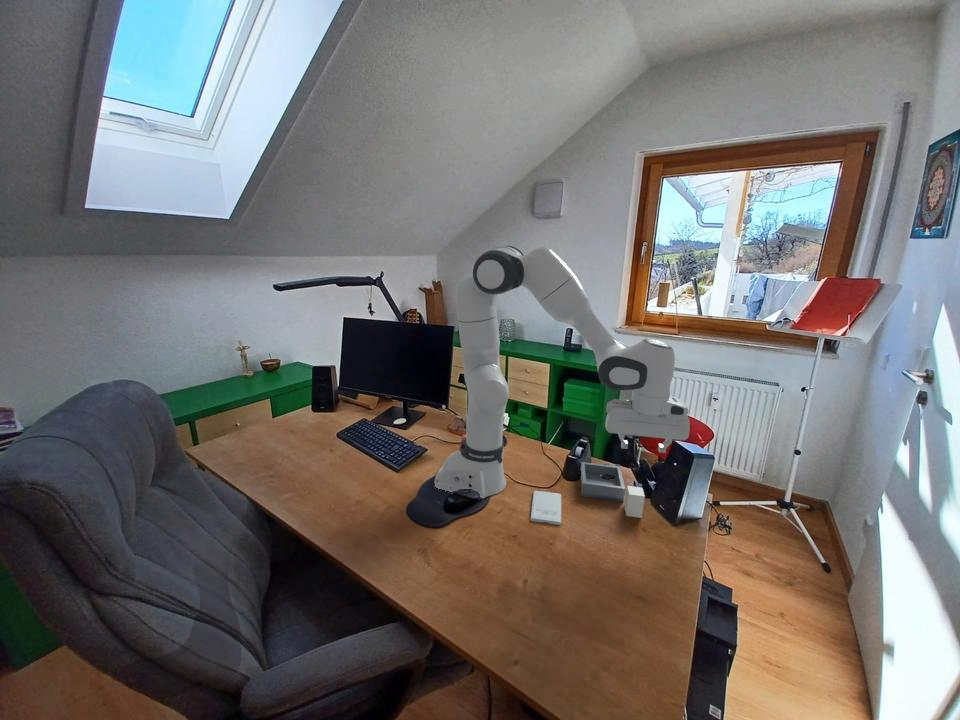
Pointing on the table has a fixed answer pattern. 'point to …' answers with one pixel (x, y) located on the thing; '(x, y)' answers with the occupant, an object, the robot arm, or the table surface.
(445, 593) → the table surface
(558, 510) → the external hard drive
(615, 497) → the bin
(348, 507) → the table surface
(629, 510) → the cream block
